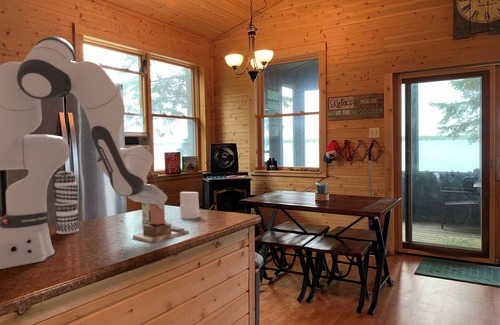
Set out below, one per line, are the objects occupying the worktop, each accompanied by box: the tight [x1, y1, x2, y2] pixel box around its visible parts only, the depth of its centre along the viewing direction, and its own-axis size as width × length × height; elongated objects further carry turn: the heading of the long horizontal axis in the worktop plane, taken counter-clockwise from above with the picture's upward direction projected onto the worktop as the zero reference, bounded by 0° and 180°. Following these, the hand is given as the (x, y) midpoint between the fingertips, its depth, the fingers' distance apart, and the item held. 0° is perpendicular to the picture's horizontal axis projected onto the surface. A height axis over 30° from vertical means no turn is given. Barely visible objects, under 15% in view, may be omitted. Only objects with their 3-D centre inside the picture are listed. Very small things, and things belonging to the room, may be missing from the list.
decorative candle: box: [52, 170, 80, 235], centre depth 154 cm, size 9×9×25 cm
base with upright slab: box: [179, 191, 200, 220], centre depth 181 cm, size 9×9×12 cm
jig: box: [132, 222, 190, 244], centre depth 143 cm, size 18×11×5 cm, turn 141°
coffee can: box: [141, 189, 165, 224], centre depth 173 cm, size 10×10×14 cm
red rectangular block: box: [150, 203, 166, 224], centre depth 141 cm, size 4×4×10 cm
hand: (158, 207), depth 141 cm, fingers closed on red rectangular block, 4 cm apart
